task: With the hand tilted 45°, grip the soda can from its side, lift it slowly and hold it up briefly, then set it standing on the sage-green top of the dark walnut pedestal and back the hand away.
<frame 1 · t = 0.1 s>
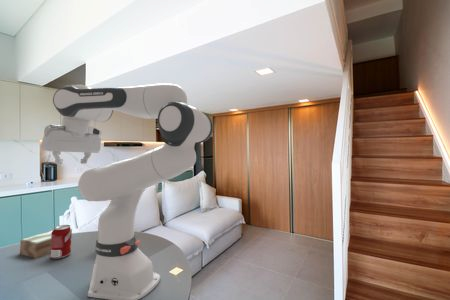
hand: (71, 163, 81), 39 cm above the table, tool pointing down, fingers open, 8 cm apart
soda can: (60, 256, 88), on the table
walnut pedestal: (41, 251, 92), on the table
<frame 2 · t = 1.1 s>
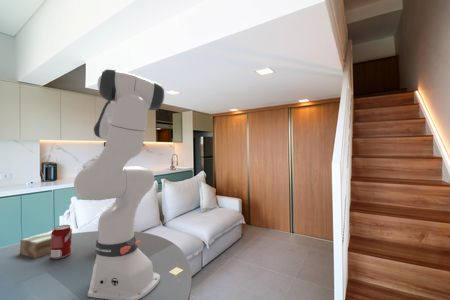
hand: (90, 178, 99), 31 cm above the table, tool tilted 45°, fingers open, 8 cm apart
nothing on the table moved.
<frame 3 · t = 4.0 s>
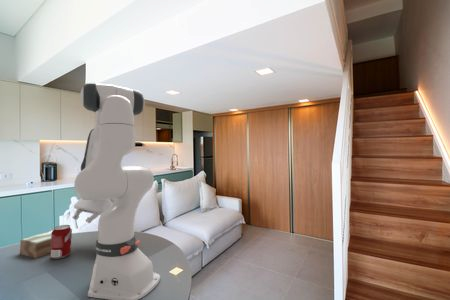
hand: (80, 220, 95), 13 cm above the table, tool tilted 45°, fingers open, 8 cm apart
nothing on the table moved.
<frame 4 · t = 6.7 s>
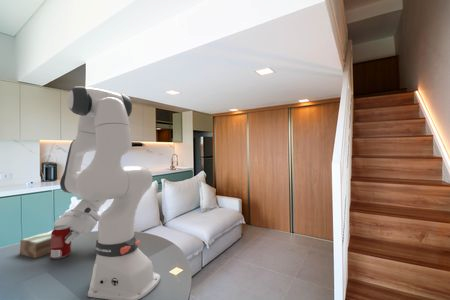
hand: (59, 241, 87), 6 cm above the table, tool tilted 45°, fingers closed on soda can, 7 cm apart
soda can: (60, 256, 88), on the table, touching gripper
everything else where it was.
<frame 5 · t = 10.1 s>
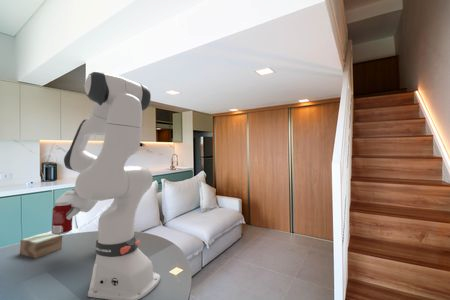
hand: (61, 217, 88), 16 cm above the table, tool tilted 45°, fingers closed on soda can, 6 cm apart
soda can: (61, 233, 88), point 9 cm above the table, touching gripper
everything else where it was.
when the fingers open (14 cm above the table, at t = 13.8 s): soda can drops 1 cm, resting on walnut pedestal.
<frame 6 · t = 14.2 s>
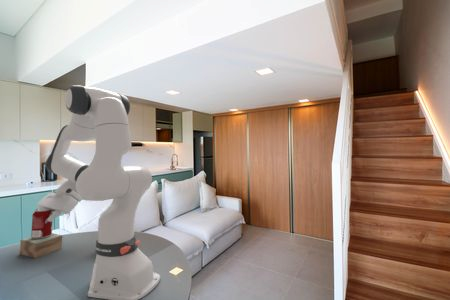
hand: (41, 219, 92), 14 cm above the table, tool tilted 45°, fingers open, 8 cm apart
soda can: (41, 237, 92), point 6 cm above the table, touching walnut pedestal
everything else where it was.
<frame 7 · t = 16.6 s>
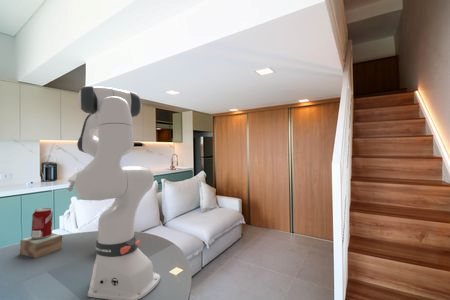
hand: (74, 191, 104), 24 cm above the table, tool tilted 45°, fingers open, 8 cm apart
nothing on the table moved.
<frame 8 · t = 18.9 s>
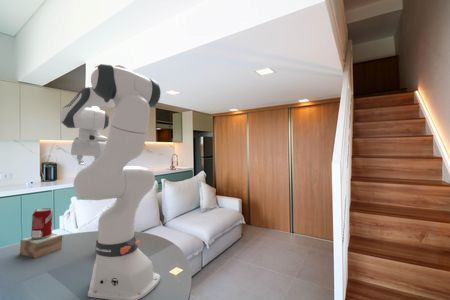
hand: (87, 165, 105), 37 cm above the table, tool pointing down, fingers open, 8 cm apart
nothing on the table moved.
at the end: soda can inside the target area on the walnut pedestal (0.2 cm from its centre), point 5.8 cm above the walnut pedestal's base; soda can tilted 0°; the gripper is holding nothing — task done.
